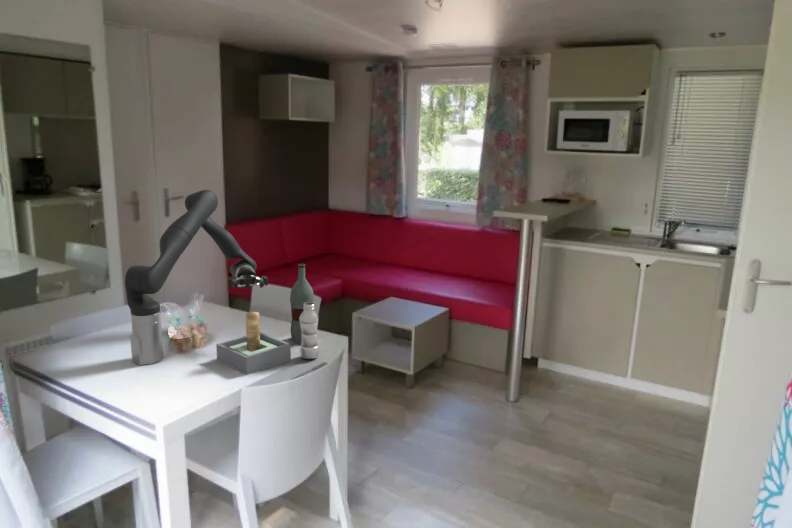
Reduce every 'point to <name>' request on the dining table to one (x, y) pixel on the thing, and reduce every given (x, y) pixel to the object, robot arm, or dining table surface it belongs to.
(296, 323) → the vodka
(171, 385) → the dining table surface
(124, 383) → the dining table surface
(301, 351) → the plastic bottle
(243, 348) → the plate
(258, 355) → the box
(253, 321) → the peg
